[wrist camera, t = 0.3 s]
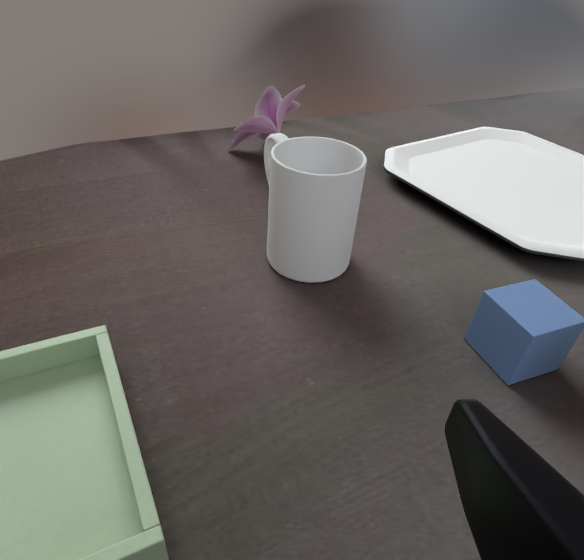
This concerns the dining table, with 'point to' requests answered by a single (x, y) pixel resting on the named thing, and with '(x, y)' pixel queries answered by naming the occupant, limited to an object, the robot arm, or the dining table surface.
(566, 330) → the blue block
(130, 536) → the sage tray
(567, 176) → the plate
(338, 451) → the dining table surface
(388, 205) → the dining table surface
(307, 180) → the mug
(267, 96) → the lily
